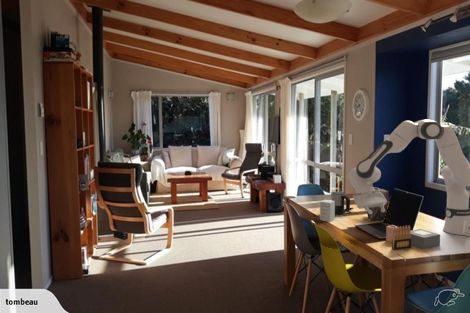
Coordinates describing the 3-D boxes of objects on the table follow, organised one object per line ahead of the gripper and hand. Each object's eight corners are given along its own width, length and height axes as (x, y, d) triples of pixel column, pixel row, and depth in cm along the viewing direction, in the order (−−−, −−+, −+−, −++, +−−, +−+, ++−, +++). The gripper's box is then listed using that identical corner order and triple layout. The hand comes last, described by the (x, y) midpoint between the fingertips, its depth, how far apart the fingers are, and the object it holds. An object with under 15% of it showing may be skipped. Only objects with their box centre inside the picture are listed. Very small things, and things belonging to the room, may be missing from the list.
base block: (420, 239, 216) (420, 228, 216) (439, 245, 206) (440, 234, 205) (404, 242, 211) (404, 231, 211) (423, 249, 201) (424, 237, 200)
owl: (366, 216, 268) (366, 187, 266) (385, 216, 266) (386, 187, 264) (369, 221, 255) (370, 190, 253) (390, 221, 253) (391, 191, 251)
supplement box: (324, 217, 265) (324, 199, 264) (334, 219, 261) (335, 200, 260) (319, 220, 260) (319, 201, 259) (329, 221, 255) (330, 202, 254)
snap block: (392, 239, 217) (392, 224, 216) (399, 241, 213) (399, 226, 212) (386, 240, 215) (386, 225, 214) (392, 242, 211) (393, 227, 210)
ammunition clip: (394, 250, 200) (394, 227, 198) (391, 249, 201) (392, 226, 200) (411, 247, 203) (412, 225, 202) (408, 246, 205) (409, 224, 203)
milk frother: (329, 214, 276) (329, 193, 274) (334, 209, 290) (335, 189, 288) (349, 216, 269) (350, 194, 268) (354, 211, 283) (354, 190, 282)
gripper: (354, 191, 224) (366, 211, 216) (381, 188, 233) (393, 207, 225) (348, 197, 229) (360, 217, 221) (375, 194, 237) (387, 213, 229)
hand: (377, 212), depth 223 cm, fingers open, 8 cm apart
